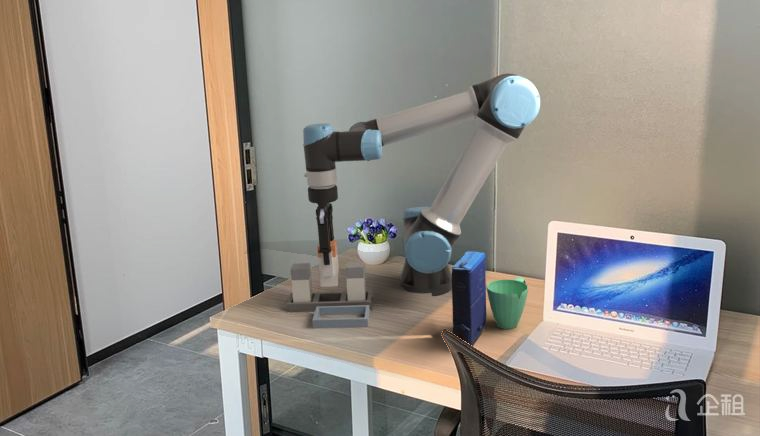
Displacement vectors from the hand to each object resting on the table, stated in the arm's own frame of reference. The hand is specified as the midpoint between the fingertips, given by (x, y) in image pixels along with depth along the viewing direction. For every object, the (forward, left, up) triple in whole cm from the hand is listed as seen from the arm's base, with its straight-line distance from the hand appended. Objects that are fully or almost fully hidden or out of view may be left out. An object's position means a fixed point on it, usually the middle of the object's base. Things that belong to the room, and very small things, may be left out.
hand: (329, 271), depth 180 cm
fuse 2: (-7, 0, -9) cm, 11 cm away
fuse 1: (+8, 0, -9) cm, 12 cm away
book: (-35, +21, -10) cm, 42 cm away
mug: (-46, +12, -10) cm, 48 cm away
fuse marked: (0, 0, -3) cm, 3 cm away
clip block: (0, 0, -10) cm, 10 cm away
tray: (-4, +11, -10) cm, 15 cm away
